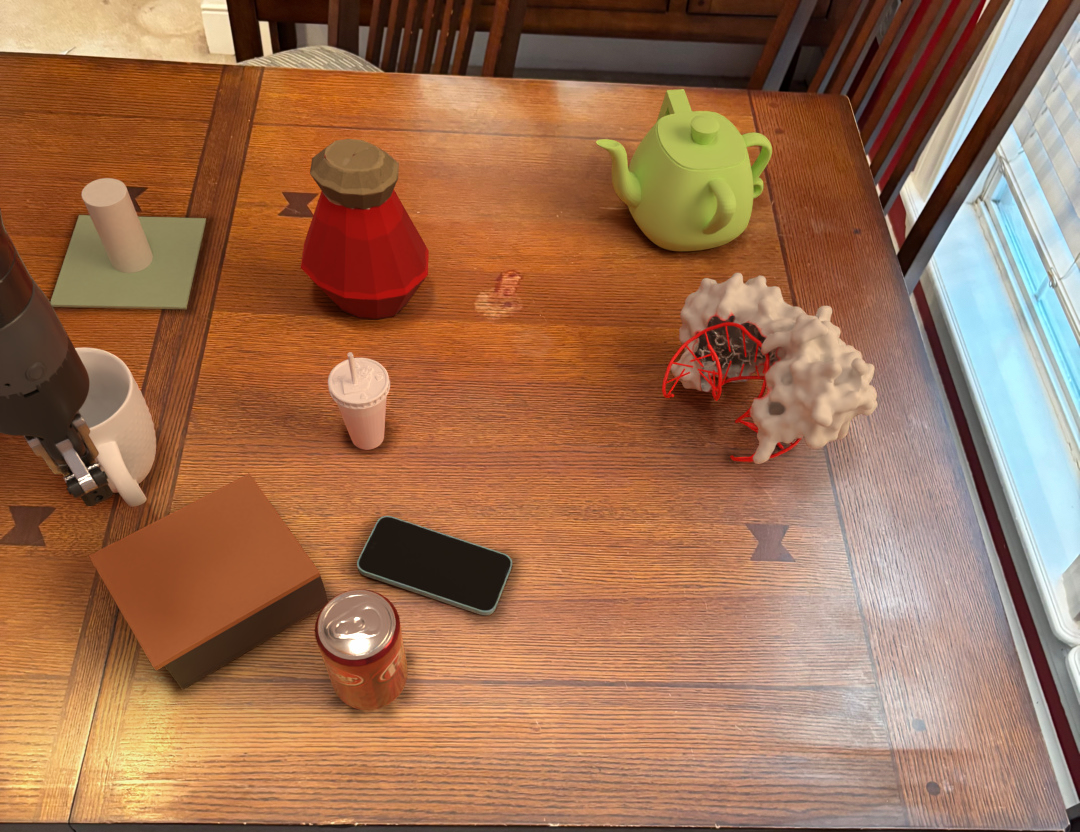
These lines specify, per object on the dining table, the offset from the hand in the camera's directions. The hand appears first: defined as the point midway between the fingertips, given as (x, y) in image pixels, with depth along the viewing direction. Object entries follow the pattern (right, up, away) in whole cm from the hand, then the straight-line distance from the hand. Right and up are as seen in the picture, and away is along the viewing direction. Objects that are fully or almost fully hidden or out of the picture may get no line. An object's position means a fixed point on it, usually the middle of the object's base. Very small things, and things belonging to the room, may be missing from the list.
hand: (97, 495), depth 72 cm
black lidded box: (+4, -9, +18) cm, 21 cm away
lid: (+4, -6, +13) cm, 15 cm away
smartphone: (+25, -6, +21) cm, 33 cm away
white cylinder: (-16, +32, +40) cm, 54 cm away
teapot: (+54, +41, +52) cm, 85 cm away
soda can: (+19, -17, +15) cm, 30 cm away
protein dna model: (+60, +11, +34) cm, 70 cm away
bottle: (+14, +27, +41) cm, 51 cm away
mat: (-16, +31, +41) cm, 54 cm away
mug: (-9, +3, +25) cm, 27 cm away
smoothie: (+16, +8, +29) cm, 35 cm away
